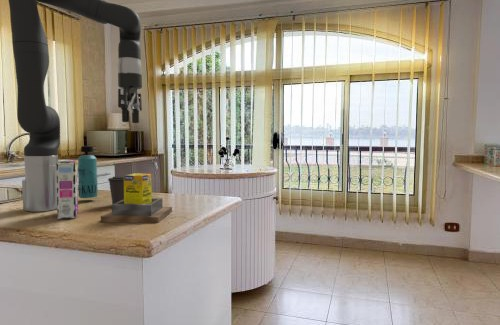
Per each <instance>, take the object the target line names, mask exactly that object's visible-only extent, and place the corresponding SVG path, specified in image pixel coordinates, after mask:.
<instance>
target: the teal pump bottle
mask: <svg viewBox="0 0 500 325" xmlns="http://www.w3.org/2000/svg"><path fill="white" fill-rule="evenodd" d="M94 152H95V151H94V146H91V145H82V146H81V147H80V153H94ZM97 160H98V159H97V157H96V156H95V155H94V154H93V155H92V154H89V155H88V154H85V155H84V154H83V155H80V156H78V158H77V167H78V199H91V198H92V199H93V198H97V197H98V196H99V195H98V179H99V178H98V165H97V164H98V162H97Z"/></svg>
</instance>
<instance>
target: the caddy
mask: <svg viewBox="0 0 500 325" xmlns="http://www.w3.org/2000/svg"><path fill="white" fill-rule="evenodd" d="M163 201H164V200H163V198H162V197H152V203H150V204H124V199H123V200H121V201H119V202H117V203H114V204H111V211H109V212H106V213H105V214H103V215H100V222H101V223H150V224H151V223H153V224H154V223H155V224H157V223H160V222H161V221H163V219H165V218H166V217H167V216H168V215H169V214H171V213H172V212H173V206H164V205H163V204H164V203H163Z"/></svg>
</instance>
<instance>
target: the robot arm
mask: <svg viewBox="0 0 500 325" xmlns="http://www.w3.org/2000/svg"><path fill="white" fill-rule="evenodd" d="M38 3H41V4H46V5H49V6H54V7H56V8H59V9H60V8H61V9H64V10H67V11H68V12H71V13H74V14H77V15H79V16H82V17H84V18H86V19H89V20H91V21H94V22H97V23H100V24H102V25H106V24H107V25H108V24H109V25H112V26H115V27H117V28H119V29H118V30H119V43H118V50H117V51H118V52H117V53H118V56H117V57H118V62H117V84H118V85H117V87H118V89H117V90H118V91H117V102H118V103H117V106H118V108H120V110H121V122H122V123H129V122H132V123H133V124H139V123H140V112H141V111H143V108H142V107H143V106H142V105H143V104H142V93H138V90H140V89H142V88H143V72H142V71H143V68H142V67H143V66H142V57H141V56H142V55H141V54H142V50H141V37H142V36H141V34H142V31H141V30H142V26H141V20H140V16H139V15H138V13H137V12H136V11H135V10H133V9H132V8H129V7H127V6H124V5H121V4H116V3H112V2H109V1H106V0H8V5H9V14H10V27H11V39H12V41H11V43H12V52H13V58H14V67H15V68H14V69H15V78H16V85H17V86H16V88H17V97H16V98H17V104H16V106H17V107H16V108H17V112H16V113H17V115H16V116H17V118H16V119H17V122H18V124H19V127H20V128H21V129H22V130H23V131H24V132H26V133H29V140H28V143H27V144H26V145H25V146H24V148H23V156H24V157H23V158H24V160H23V161H24V163H23V164H24V179H22V181H21V187H22V190H21V191H22V211H27V212H35V213H36V212H37V213H38V212H48V211H53V210H57V165H56V162H58V161H59V148H60V146H61V121H60V120H61V119H60V116H59V114H58V112H57V110H56V109H55V108H53V107H51V106H49V105H47V103H46V98H45V82H46V81H45V80H46V77H47V74H48V71H49V66H50V53H49V44H48V39H47V34H46V32H45V28H44V26H43V25H44V24H43V23H42V20H41V16H40V14H39V9H38ZM130 109H131V118H130ZM130 119H131V121H130Z"/></svg>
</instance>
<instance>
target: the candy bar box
mask: <svg viewBox="0 0 500 325" xmlns="http://www.w3.org/2000/svg"><path fill="white" fill-rule="evenodd" d="M56 165H57V209H56V212H57V218H56V219H57V220H73V219H76V218H77V217H78V216H77V215H78V212H79V196H78V195H79V190H78V186H79V185H78V159H60V160H58V162H56Z"/></svg>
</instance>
